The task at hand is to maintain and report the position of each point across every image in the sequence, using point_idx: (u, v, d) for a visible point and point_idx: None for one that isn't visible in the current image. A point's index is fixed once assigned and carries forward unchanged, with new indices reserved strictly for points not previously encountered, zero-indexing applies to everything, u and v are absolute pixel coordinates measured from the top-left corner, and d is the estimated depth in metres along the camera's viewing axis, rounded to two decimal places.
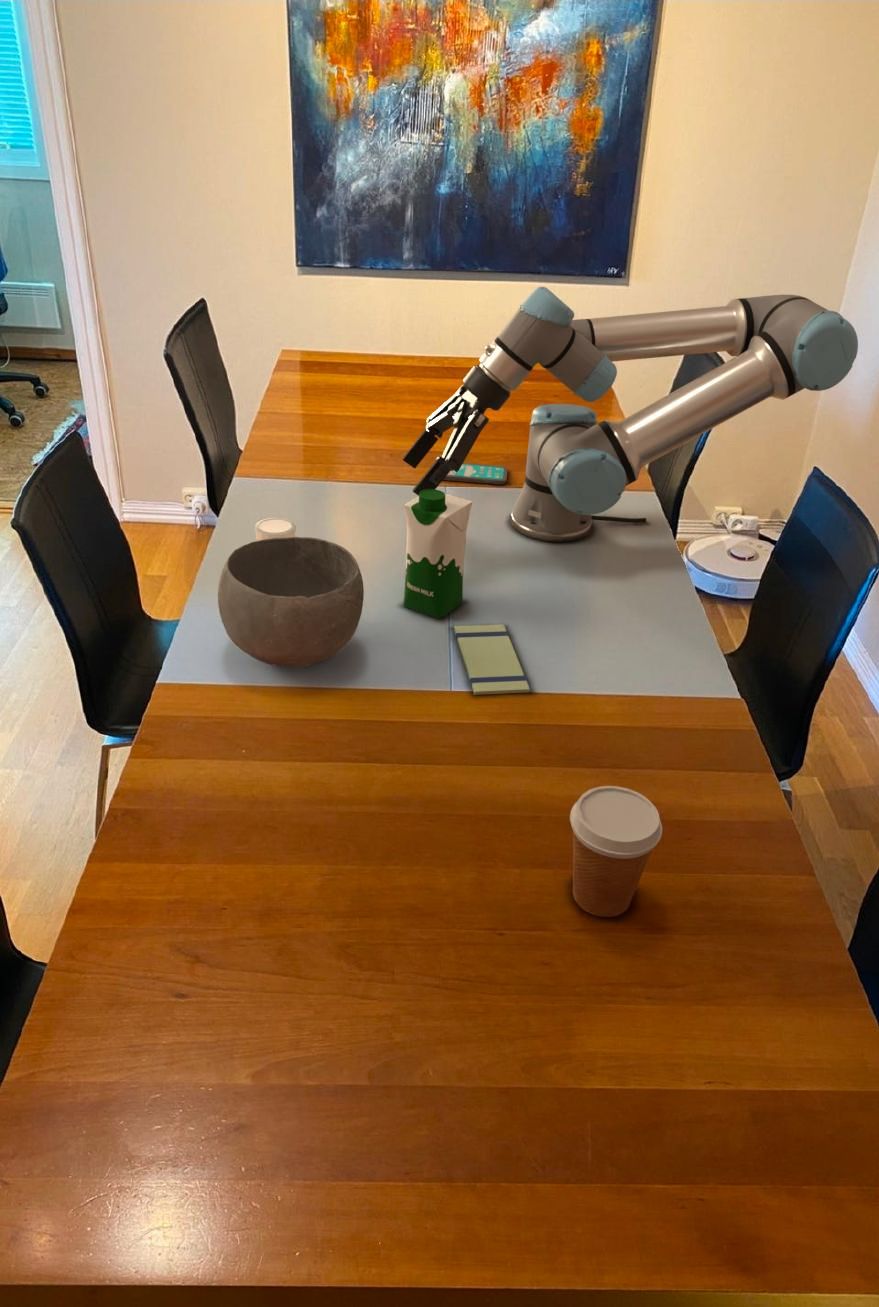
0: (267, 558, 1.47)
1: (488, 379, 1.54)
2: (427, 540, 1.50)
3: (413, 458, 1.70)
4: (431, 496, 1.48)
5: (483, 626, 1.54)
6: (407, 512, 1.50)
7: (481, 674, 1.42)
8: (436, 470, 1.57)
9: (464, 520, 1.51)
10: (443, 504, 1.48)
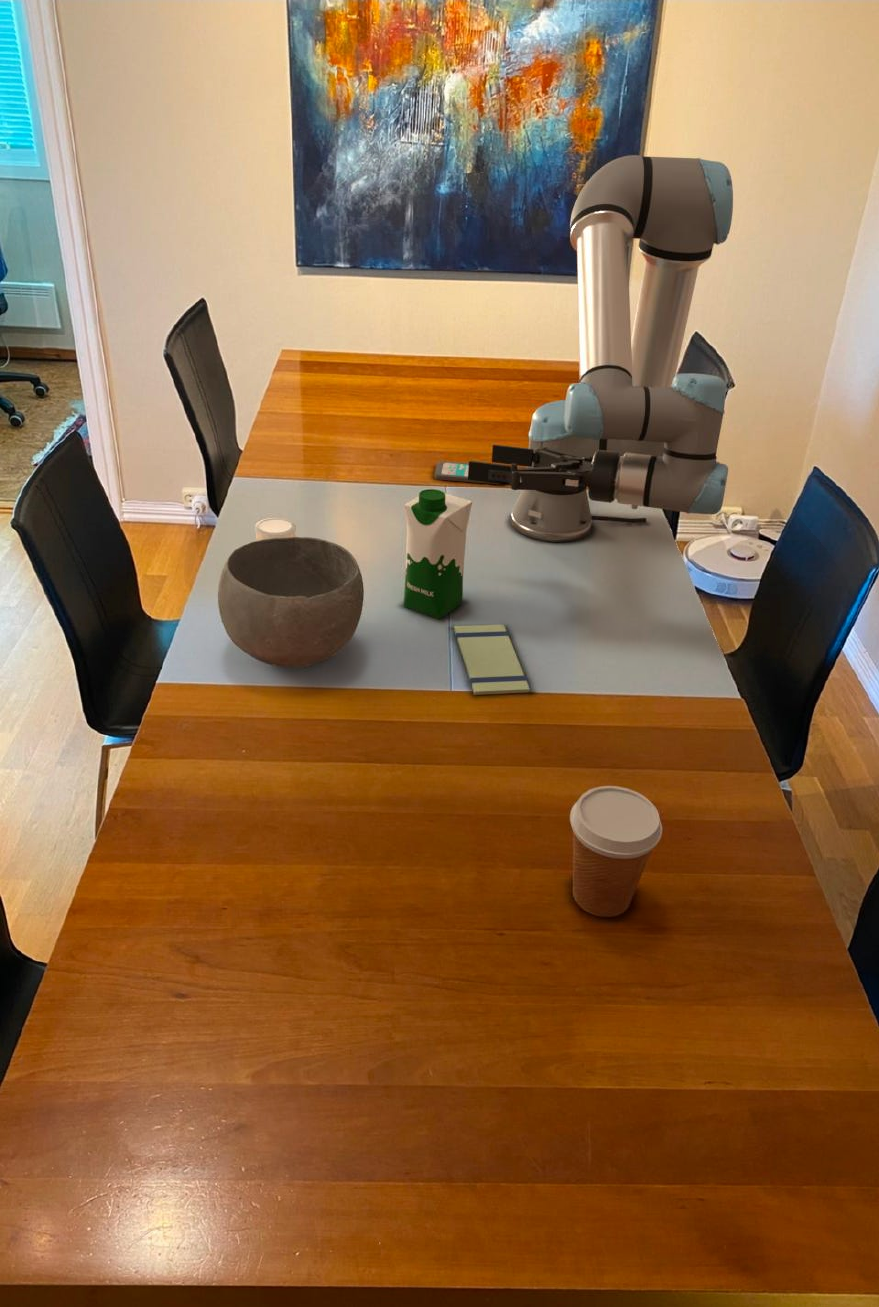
0: (267, 558, 1.47)
1: None
2: (427, 540, 1.50)
3: None
4: (431, 496, 1.48)
5: (483, 626, 1.54)
6: (407, 512, 1.50)
7: (481, 674, 1.42)
8: None
9: (464, 520, 1.51)
10: (443, 504, 1.48)
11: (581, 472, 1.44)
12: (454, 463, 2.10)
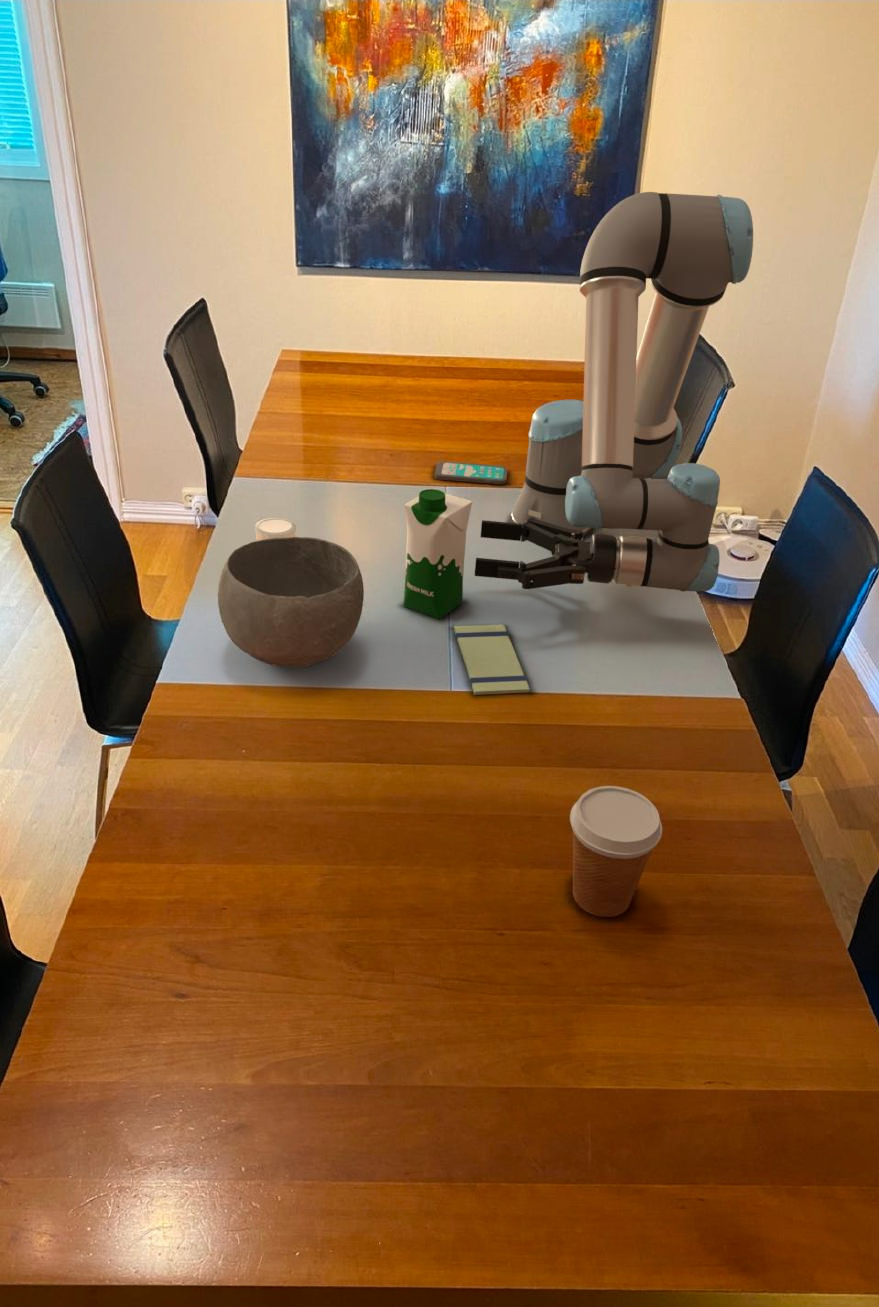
0: (267, 558, 1.47)
1: None
2: (427, 540, 1.50)
3: None
4: (431, 496, 1.48)
5: (483, 626, 1.54)
6: (407, 512, 1.50)
7: (481, 674, 1.42)
8: None
9: (464, 520, 1.51)
10: (443, 504, 1.48)
11: (583, 561, 1.49)
12: (454, 463, 2.10)
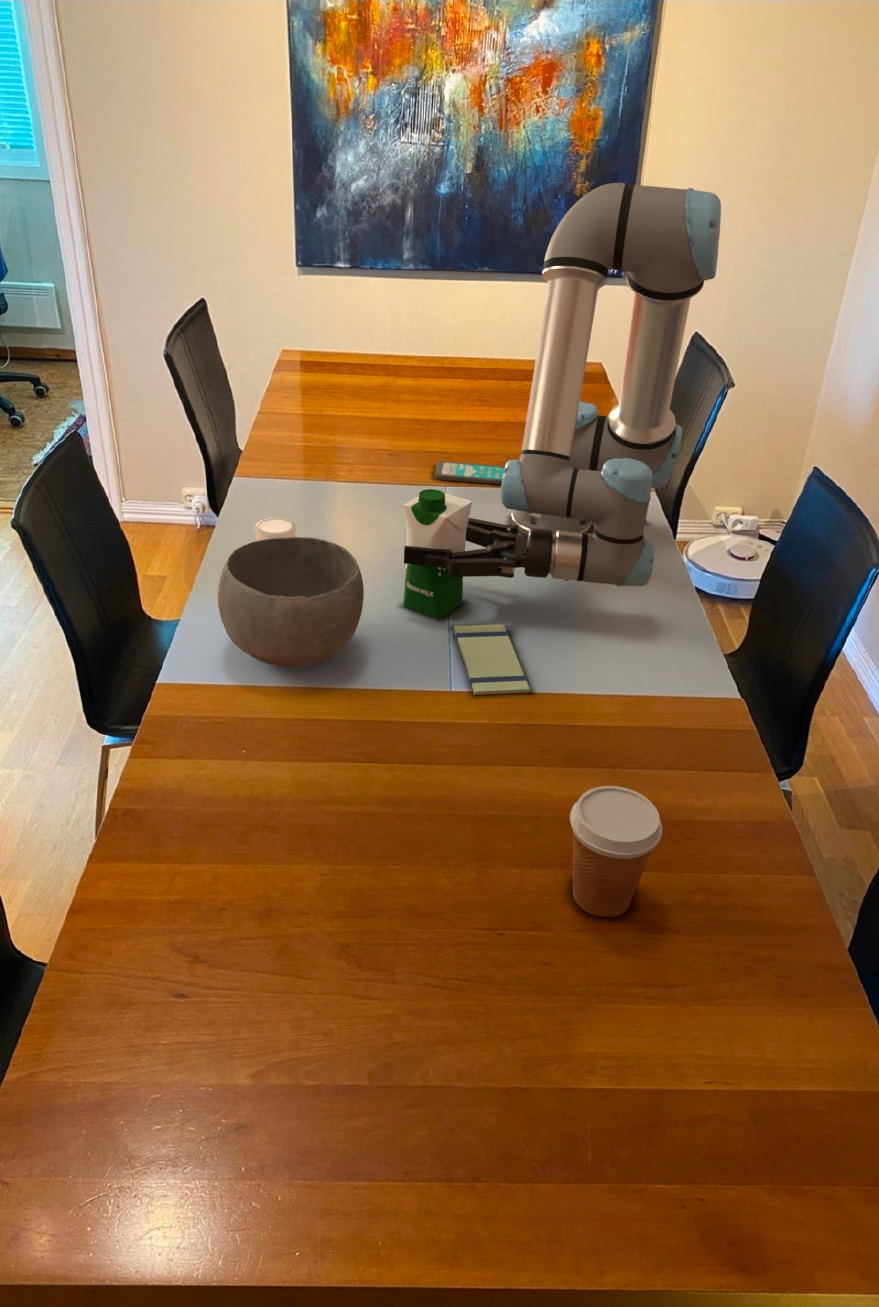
0: (267, 558, 1.47)
1: None
2: (427, 540, 1.50)
3: None
4: (431, 496, 1.48)
5: (483, 626, 1.54)
6: (407, 512, 1.50)
7: (481, 674, 1.42)
8: None
9: (464, 520, 1.51)
10: (443, 504, 1.48)
11: (519, 556, 1.50)
12: (454, 463, 2.10)
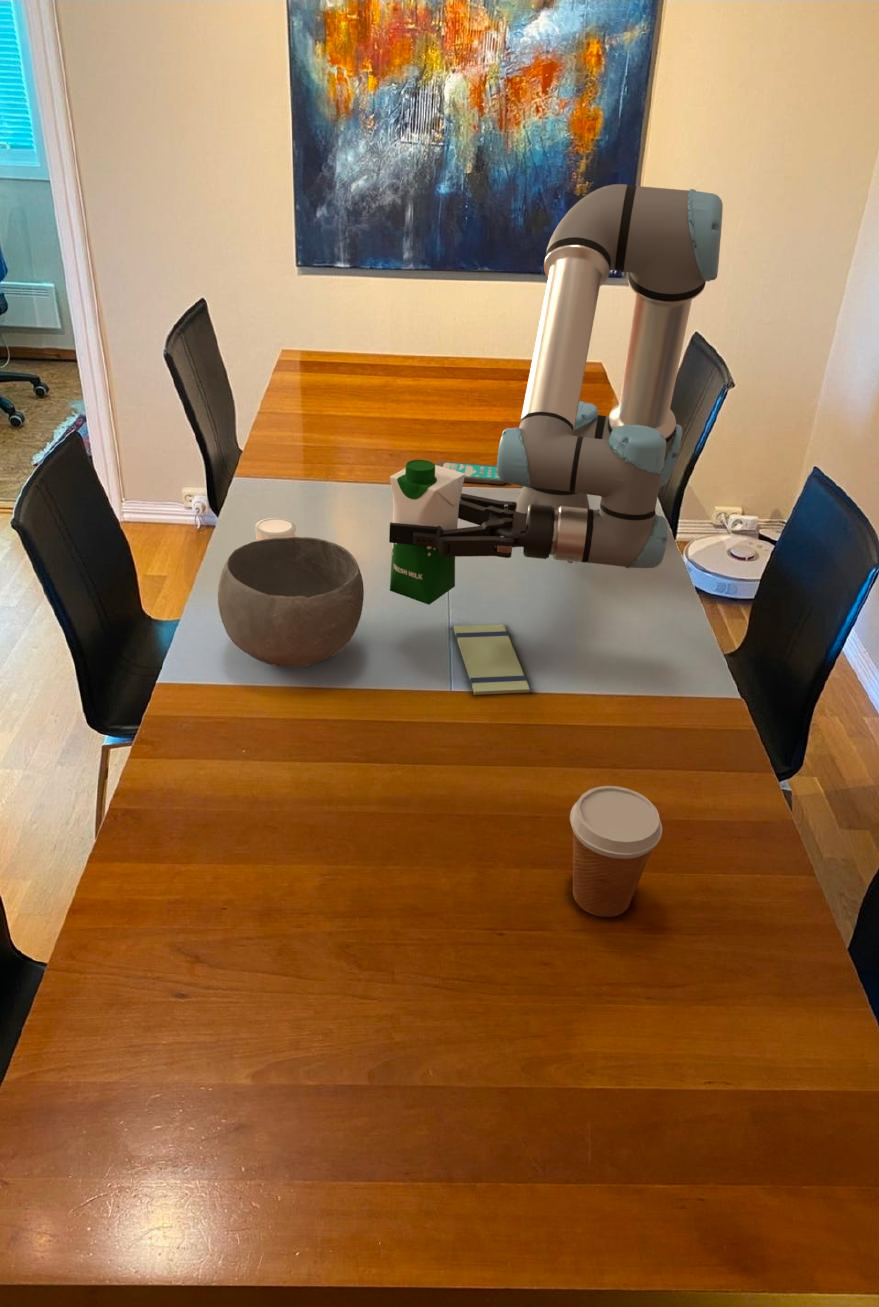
0: (267, 558, 1.47)
1: None
2: (415, 517, 1.35)
3: None
4: (419, 467, 1.33)
5: (483, 626, 1.54)
6: (393, 485, 1.35)
7: (481, 674, 1.42)
8: None
9: (456, 494, 1.36)
10: (432, 476, 1.33)
11: (517, 534, 1.35)
12: (454, 463, 2.10)
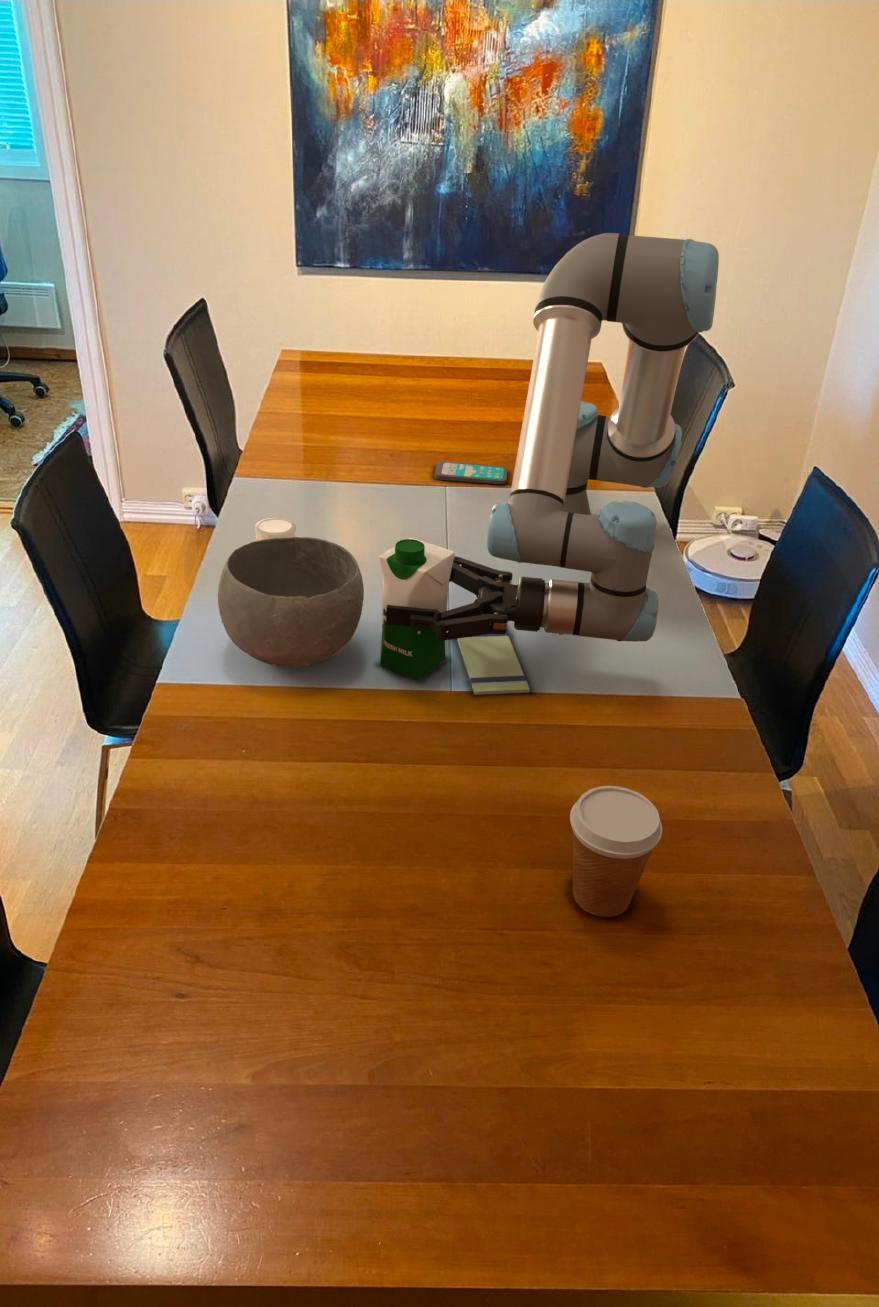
0: (267, 558, 1.47)
1: None
2: (404, 596, 1.35)
3: None
4: (408, 548, 1.33)
5: None
6: (382, 564, 1.35)
7: (481, 674, 1.42)
8: None
9: (446, 573, 1.36)
10: (422, 556, 1.33)
11: (507, 609, 1.35)
12: (454, 463, 2.10)
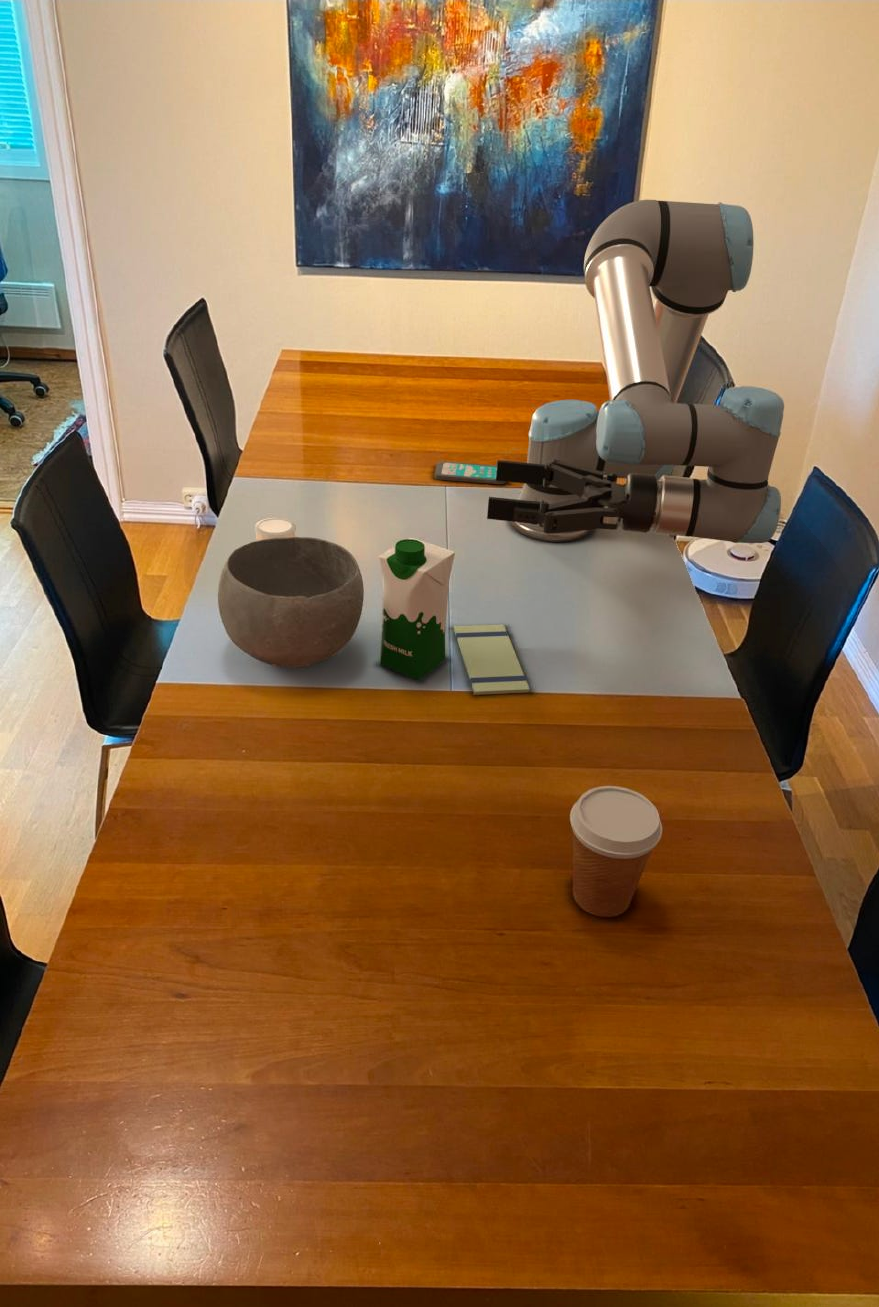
0: (267, 558, 1.47)
1: None
2: (404, 596, 1.35)
3: None
4: (408, 548, 1.33)
5: (483, 626, 1.54)
6: (382, 564, 1.35)
7: (481, 674, 1.42)
8: None
9: (446, 573, 1.36)
10: (422, 556, 1.33)
11: (617, 504, 1.25)
12: (454, 463, 2.10)
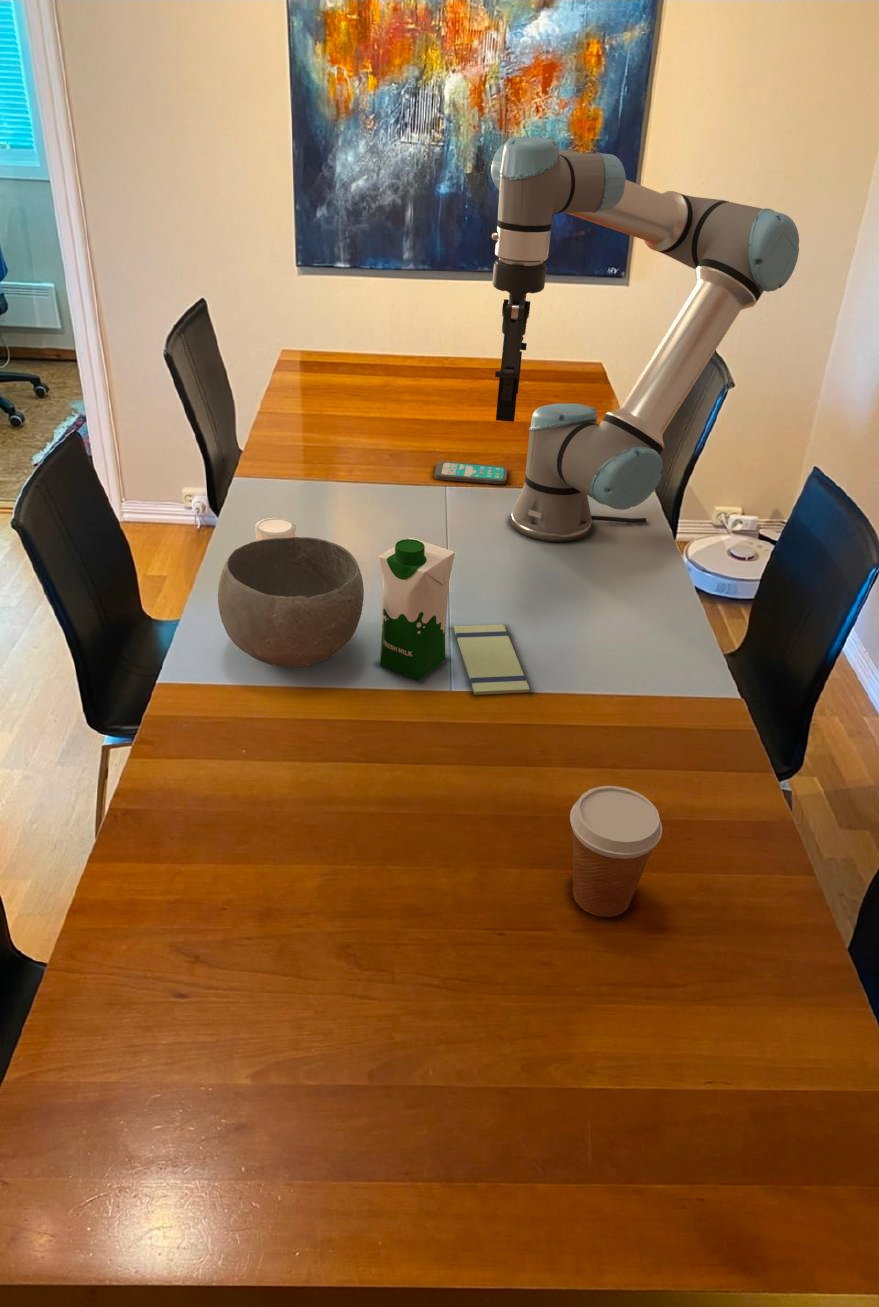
0: (267, 558, 1.47)
1: (506, 266, 1.38)
2: (404, 596, 1.35)
3: None
4: (408, 548, 1.33)
5: (483, 626, 1.54)
6: (382, 564, 1.35)
7: (481, 674, 1.42)
8: (503, 387, 1.42)
9: (446, 573, 1.36)
10: (422, 556, 1.33)
11: None
12: (454, 463, 2.10)
